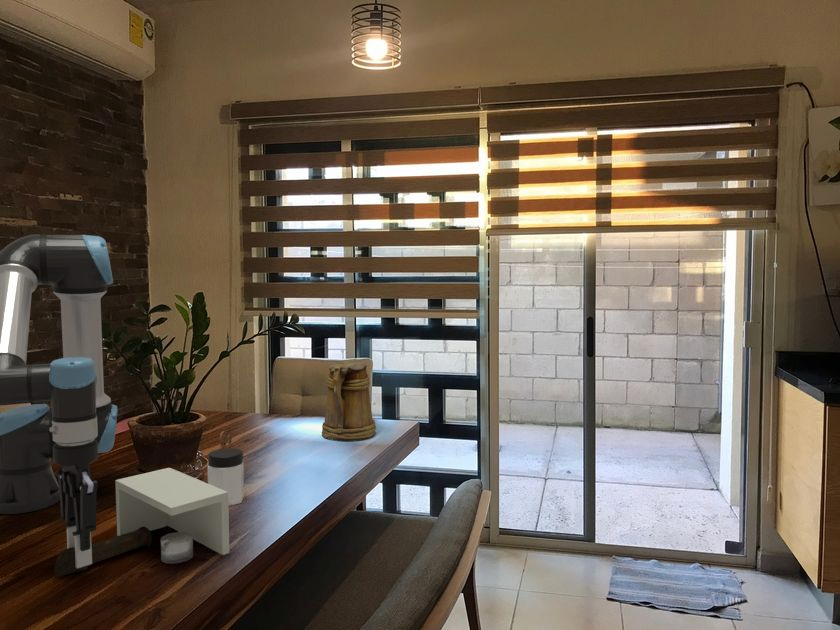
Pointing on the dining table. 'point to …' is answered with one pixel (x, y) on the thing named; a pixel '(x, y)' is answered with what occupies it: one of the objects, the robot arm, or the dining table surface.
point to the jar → (227, 473)
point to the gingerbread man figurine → (225, 441)
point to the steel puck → (176, 547)
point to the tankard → (348, 402)
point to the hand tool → (103, 550)
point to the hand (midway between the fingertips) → (79, 562)
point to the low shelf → (174, 506)
